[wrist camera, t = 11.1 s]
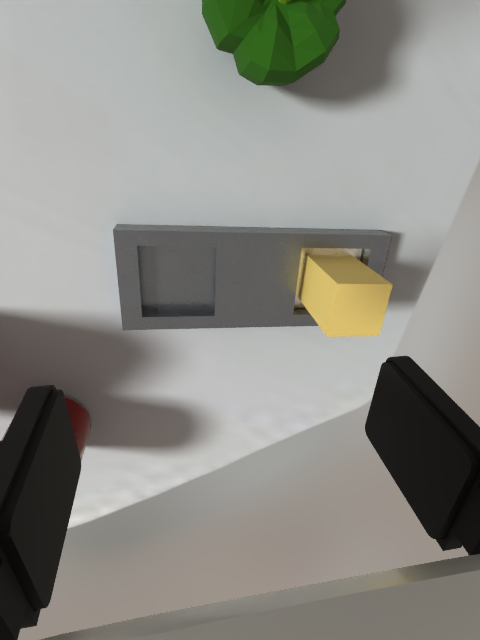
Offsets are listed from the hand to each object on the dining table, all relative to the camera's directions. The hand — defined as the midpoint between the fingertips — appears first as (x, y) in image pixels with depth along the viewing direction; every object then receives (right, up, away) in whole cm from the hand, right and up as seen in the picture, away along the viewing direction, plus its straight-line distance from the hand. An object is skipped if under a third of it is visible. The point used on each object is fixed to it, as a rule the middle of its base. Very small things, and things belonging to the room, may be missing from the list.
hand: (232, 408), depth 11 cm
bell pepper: (+1, +24, +16) cm, 29 cm away
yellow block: (+8, +7, +24) cm, 27 cm away
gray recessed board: (+1, +7, +24) cm, 25 cm away
